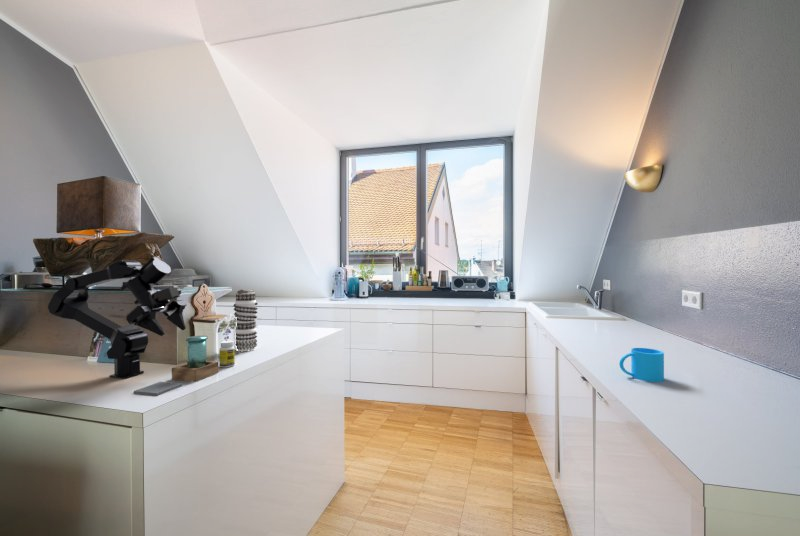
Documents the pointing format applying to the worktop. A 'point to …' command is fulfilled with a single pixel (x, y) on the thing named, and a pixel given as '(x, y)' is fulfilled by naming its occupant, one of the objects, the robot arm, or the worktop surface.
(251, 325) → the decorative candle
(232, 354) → the supplement bottle
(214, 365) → the wooden tray
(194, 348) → the teal glass jar
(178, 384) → the mat
